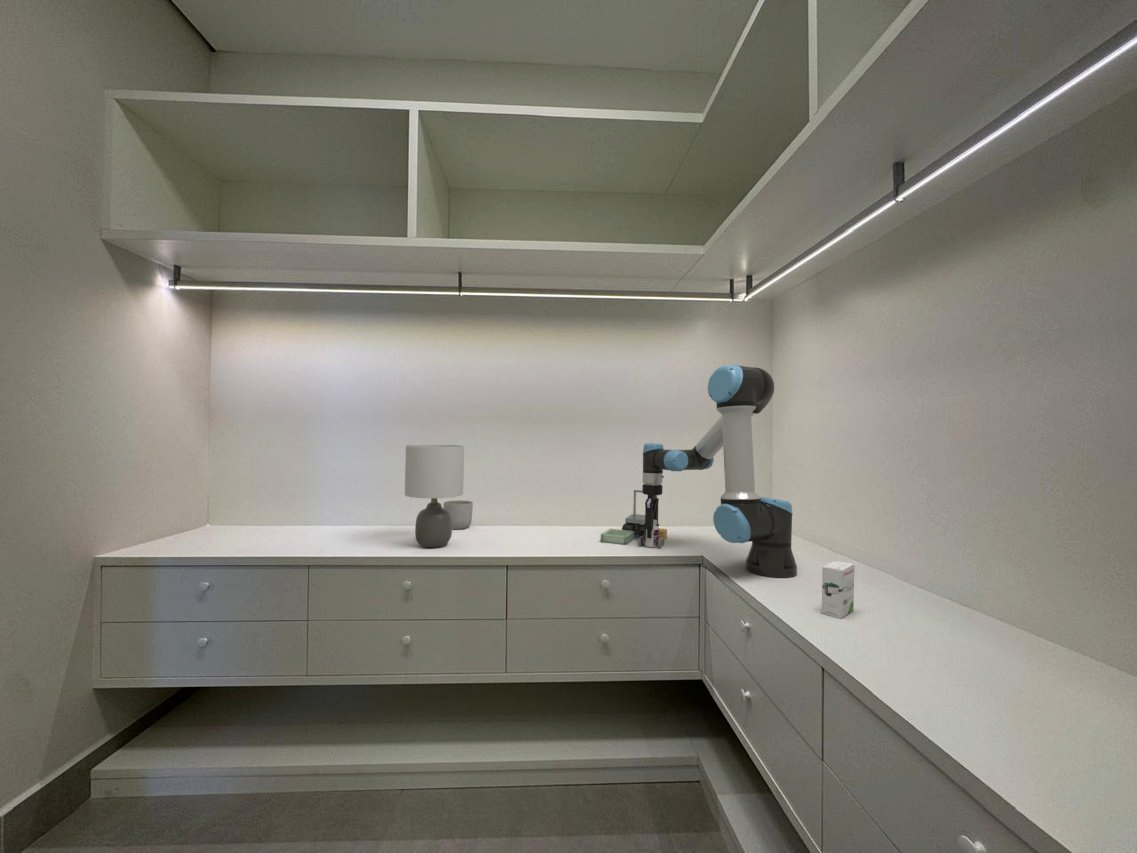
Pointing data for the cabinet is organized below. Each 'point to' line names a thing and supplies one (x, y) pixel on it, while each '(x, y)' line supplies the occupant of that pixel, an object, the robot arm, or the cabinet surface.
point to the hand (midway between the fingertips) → (651, 544)
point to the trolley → (635, 520)
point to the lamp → (434, 488)
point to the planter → (459, 513)
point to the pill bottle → (656, 534)
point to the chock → (662, 533)
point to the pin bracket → (660, 542)
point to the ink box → (837, 589)
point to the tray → (617, 536)
